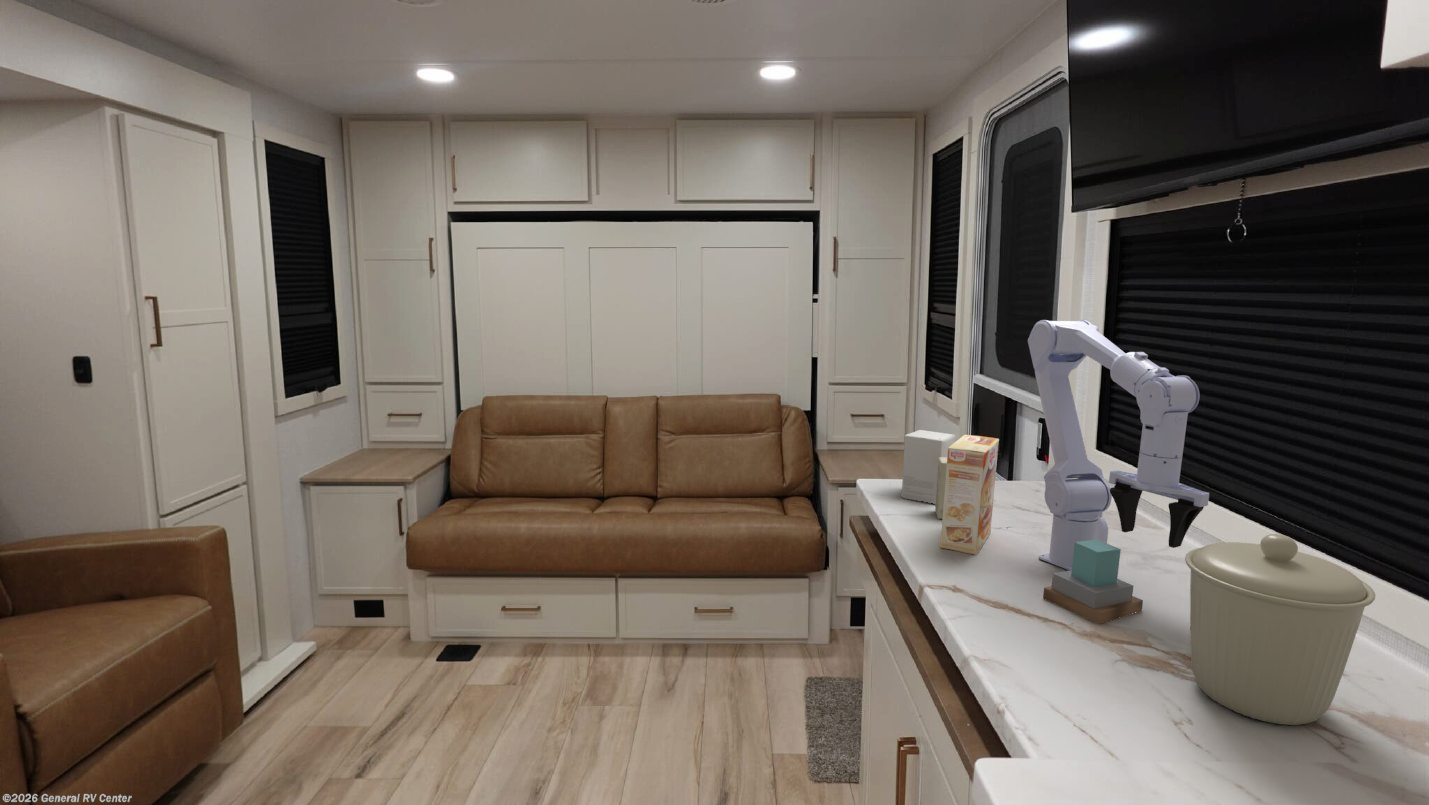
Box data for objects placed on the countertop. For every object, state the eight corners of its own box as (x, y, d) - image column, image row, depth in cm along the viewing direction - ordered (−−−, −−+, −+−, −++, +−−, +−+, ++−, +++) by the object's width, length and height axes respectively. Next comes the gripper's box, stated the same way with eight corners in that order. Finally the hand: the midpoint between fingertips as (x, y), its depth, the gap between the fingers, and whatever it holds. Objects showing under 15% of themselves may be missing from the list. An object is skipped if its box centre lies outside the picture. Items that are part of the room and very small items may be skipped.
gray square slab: (1087, 581, 123) (1089, 566, 123) (1131, 601, 116) (1133, 585, 116) (1051, 588, 120) (1053, 573, 120) (1094, 608, 113) (1095, 593, 113)
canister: (1141, 661, 101) (1159, 509, 98) (1278, 665, 101) (1302, 513, 97) (1227, 743, 84) (1253, 561, 80) (1394, 749, 83) (1429, 567, 80)
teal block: (1093, 572, 121) (1097, 539, 120) (1116, 583, 117) (1120, 549, 116) (1071, 575, 119) (1074, 542, 118) (1093, 586, 115) (1097, 552, 114)
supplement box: (952, 497, 176) (957, 434, 174) (937, 505, 169) (942, 440, 167) (916, 489, 182) (920, 428, 179) (900, 497, 175) (904, 434, 172)
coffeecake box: (977, 555, 139) (986, 452, 136) (938, 548, 142) (945, 447, 139) (992, 532, 152) (1000, 437, 149) (956, 526, 155) (963, 433, 152)
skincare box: (958, 521, 159) (963, 464, 157) (937, 519, 159) (941, 463, 157) (955, 512, 165) (959, 457, 163) (934, 510, 166) (938, 456, 164)
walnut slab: (1083, 591, 126) (1084, 577, 125) (1141, 615, 117) (1143, 600, 117) (1042, 602, 121) (1043, 587, 120) (1099, 628, 112) (1101, 612, 112)
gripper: (1100, 446, 121) (1092, 528, 123) (1193, 467, 108) (1182, 557, 111) (1128, 442, 124) (1119, 522, 127) (1221, 462, 112) (1209, 550, 114)
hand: (1150, 538), depth 119 cm, fingers open, 7 cm apart
